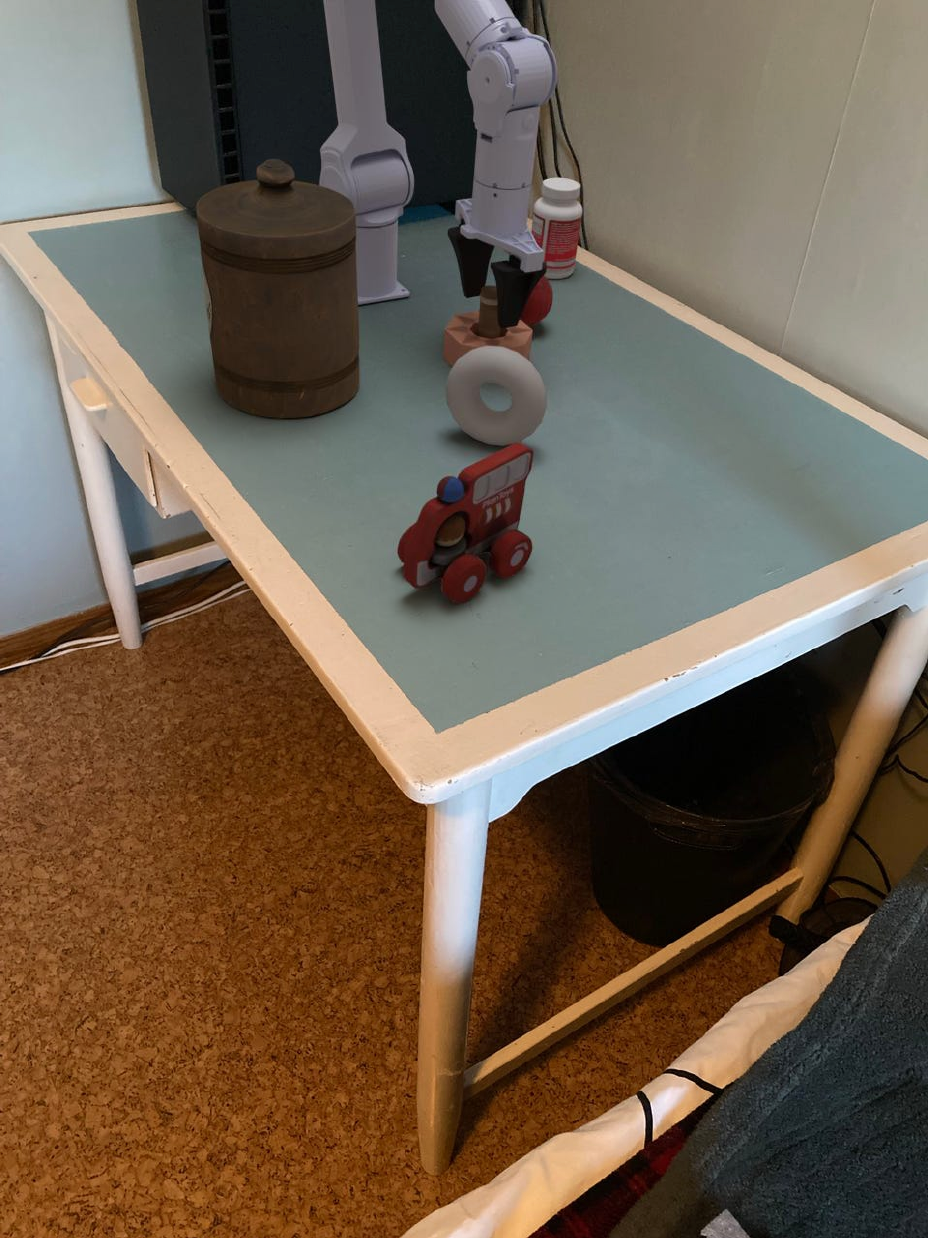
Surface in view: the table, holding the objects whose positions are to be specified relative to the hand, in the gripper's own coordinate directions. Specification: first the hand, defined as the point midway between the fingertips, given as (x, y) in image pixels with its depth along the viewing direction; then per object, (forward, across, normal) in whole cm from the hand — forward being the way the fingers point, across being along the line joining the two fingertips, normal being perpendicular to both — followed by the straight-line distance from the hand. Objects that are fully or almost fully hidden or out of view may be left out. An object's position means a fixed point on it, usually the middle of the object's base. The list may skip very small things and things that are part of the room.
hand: (490, 310), depth 104 cm
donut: (+6, +15, -8) cm, 18 cm away
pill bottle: (+6, -18, +20) cm, 28 cm away
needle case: (+6, 0, 0) cm, 6 cm away
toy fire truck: (+6, +31, -20) cm, 37 cm away
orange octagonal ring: (+6, 0, 0) cm, 6 cm away
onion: (+6, -5, +8) cm, 11 cm away
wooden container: (+6, -3, -22) cm, 23 cm away
